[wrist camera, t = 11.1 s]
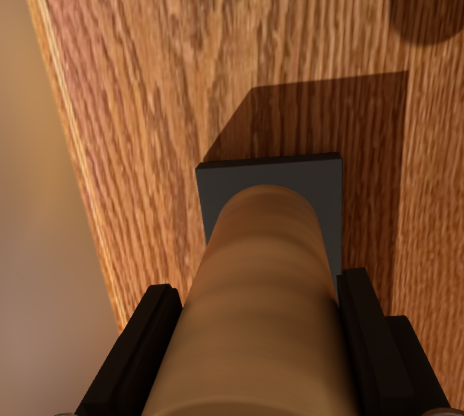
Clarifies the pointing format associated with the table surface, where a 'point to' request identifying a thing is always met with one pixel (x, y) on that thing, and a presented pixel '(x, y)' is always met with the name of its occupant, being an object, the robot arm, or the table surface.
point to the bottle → (259, 320)
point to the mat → (286, 175)
